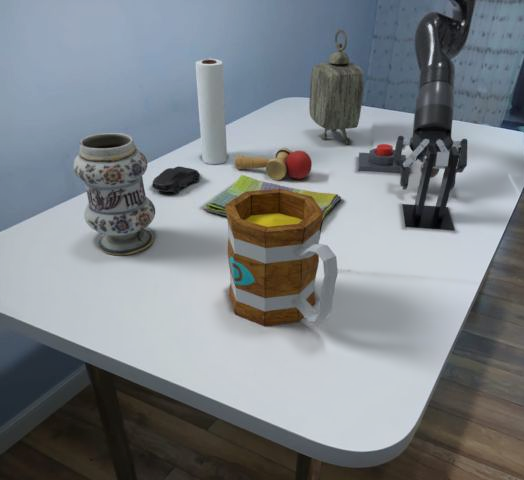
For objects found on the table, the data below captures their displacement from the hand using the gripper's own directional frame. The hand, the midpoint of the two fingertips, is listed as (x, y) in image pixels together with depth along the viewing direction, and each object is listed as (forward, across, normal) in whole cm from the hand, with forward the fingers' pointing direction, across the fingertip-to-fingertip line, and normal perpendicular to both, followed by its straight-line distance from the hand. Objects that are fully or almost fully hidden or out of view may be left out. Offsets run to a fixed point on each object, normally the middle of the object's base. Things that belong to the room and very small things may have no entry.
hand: (426, 189), depth 100 cm
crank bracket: (+8, 0, -3) cm, 8 cm away
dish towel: (+7, -30, -2) cm, 31 cm away
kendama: (-6, -33, +10) cm, 35 cm away
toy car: (+1, -53, +3) cm, 53 cm away
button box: (-11, -8, +15) cm, 20 cm away
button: (-13, -8, +13) cm, 20 cm away
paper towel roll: (-11, -48, +15) cm, 52 cm away
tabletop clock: (-25, -21, +30) cm, 44 cm away
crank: (0, 0, -6) cm, 6 cm away
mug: (+31, -24, -26) cm, 47 cm away
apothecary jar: (+20, -55, -15) cm, 60 cm away
